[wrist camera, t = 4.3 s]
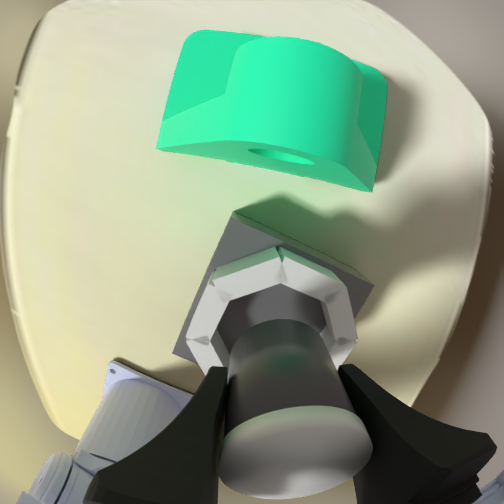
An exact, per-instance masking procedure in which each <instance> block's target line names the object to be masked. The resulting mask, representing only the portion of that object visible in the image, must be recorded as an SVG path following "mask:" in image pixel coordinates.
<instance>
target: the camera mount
mask: <svg viewBox="0 0 504 504" xmlns="http://www.w3.org/2000/svg"><path fill="white" fill-rule="evenodd" d="M387 89H388V86H387V82H386V80H385V78H384V76H383V75H382V74H381V73H380V72H379V71H378V70H376V69H374V68H372V67H370V66H367V65H364V64H362V63H359V62H356V61H354V60H351V59H349V58H348V57H347V56H345V55H344V54H342V53H340V52H338V51H337V50H335V49H332V48H330V47H328V46H325V45H323V44H320V43H317V42H313V41H310V40H305V39H300V38H293V37H262V36H256V35H250V34H242V33H235V32H226V31H215V30H200V31H197V32H194V33H192V34H191V35H189V36H188V37H187V38H186V40H185V42H184V44H183V47H182V50H181V53H180V57H179V60H178V63H177V66H176V70H175V73H174V77H173V80H172V84H171V87H170V91H169V95H168V99H167V103H166V107H165V111H164V115H163V119H162V124H161V128H160V133H159V138H158V142H157V147H156V149H159V150H162V151H165V152H173V153H181V154H189V155H196V156H202V157H209V158H215V159H222V160H226V161H228V162H233V163H239V164H244V165H250V166H255V167H260V168H265V169H270V170H275V171H279V172H284V173H289V174H293V175H297V176H302V177H310V178H314V179H318V180H322V181H326V182H330V183H334V184H338V185H341V186H345V187H349V188H352V189H356V190H359V191H365V192H372V191H373V186H374V181H375V175H376V170H377V164H378V159H379V153H380V146H381V140H382V133H383V126H384V118H385V109H386V100H387Z"/></svg>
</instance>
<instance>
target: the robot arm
mask: <svg viewBox="0 0 504 504" xmlns="http://www.w3.org/2000/svg"><path fill="white" fill-rule="evenodd" d="M112 369H113V370H112ZM114 370H115V371H114ZM338 374H339V376H340V378H341V381H342V383H343V385H344V388H345V390H346V392H347V394H348V397H349V399H350V401H351V404H352V406H353V408H354V411H355V413H356V415H357V416H358V417H359V418H360V419H361V420H362V422H363V424H364V426H365V428H366V430H367V432H368V435H369V437H370V439H371V442H372V445H373V452H372V455H371V457H370V459H369V461H368V462H367V464H366V465H365V466H364V467H363V468H362V469H361V470H360V471H359V472H358V473H357V474H356V475H354V476H353V480H354V486H355V492H356V497H357V504H504V470H503V471H502V472H501V473H500V474H499V475H498V476H497V478H495V479H494V480H493V481H491V482H490V483H488V484H487V485H485V486H484V487H483V488H481V489H480V490H479V488H478V487H477V485H476V483H477V482H478V481H479V478H478V476H477V473H478V472H479V471H480V470H481V469H482V468H483V467H484V466H485V465H486V464H487V462H488V461H489V460H490V459H491V458H492V456H493V455H494V454H495V452H496V449H497V446H496V445H495V443H494V442H493V440H492V439H491V438H490V436H489V435H488V434H487V433H482V432H476V431H470V430H465V429H461V428H457V427H454V426H451V425H448V424H445V423H442V422H440V421H437V420H434V419H432V418H430V417H428V416H426V415H423V414H422V413H420V412H418V411H416V410H414V409H412V408H411V407H409V406H407V405H406V404H404V403H403V402H401V401H400V400H398V399H397V398H395V397H394V396H392V395H391V394H390V393H388V392H387V391H386V390H384V389H383V388H382V387H381V386H379V385H378V384H377V383H376V382H374V381H373V380H372V379H371V378H369V377H368V376H367V375H366V374H365V373H363V372H362V371H361V370H360V369H359V368H357V367H356V366H355V365H353V364H346V365H339V368H338ZM227 388H228V367H220V366H211V367H210V368H209V370H208V372H207V374H206V376H205V378H204V380H203V381H202V383H201V385H200V386H199V388H198V389H197V391H196V392H195V394H194V395H192V394H190V393H187V392H185V391H182V390H179V389H177V388H174V387H172V386H169V385H167V384H165V383H162V382H160V381H157V380H155V379H153V378H151V377H148V376H146V375H144V374H142V373H140V372H137V371H135V370H133V369H131V368H129V367H127V366H125V365H123V364H121V363H119V362H117V361H115V360H111V361H110V362H109V364H108V369H107V374H106V380H105V385H104V391H103V397H102V401H101V403H100V405H99V406H98V408H97V410H96V412H95V414H94V415H93V417H92V419H91V421H90V423H89V425H88V427H87V428H86V430H85V432H84V434H83V436H82V438H81V440H80V442H79V444H78V445H77V447H76V449H75V451H74V453H73V455H69V454H68V453H66V452H61V453H53V454H52V455H51V456H50V457H49V458H48V460H47V461H46V463H45V464H44V466H43V467H42V469H41V470H40V472H39V474H38V475H37V477H36V479H35V481H34V483H33V485H32V487H31V489H30V491H29V493H26V492H25V491H23V492H22V493H21V495H20V497H19V499H18V501H17V503H16V504H218V480H219V474H218V463H219V451H220V445H221V443H222V441H223V439H224V427H225V413H226V400H227Z"/></svg>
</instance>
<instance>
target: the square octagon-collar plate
mask: <svg viewBox="0 0 504 504" xmlns="http://www.w3.org/2000/svg"><path fill="white" fill-rule="evenodd" d="M373 287H374V285H373V284H372V283H371V282H370V281H368V280H367V279H366V278H365V277H364V276H363V275H361V274H360V273H359V272H358V271H357V270H355V269H353V268H351V267H349V266H347V265H345V264H343V263H341V262H339V261H337V260H335V259H333V258H331V257H329V256H327V255H325V254H323V253H321V252H319V251H317V250H315V249H313V248H311V247H309V246H306V245H304V244H302V243H300V242H298V241H296V240H294V239H292V238H290V237H288V236H285V235H283V234H281V233H279V232H277V231H275V230H273V229H271V228H268V227H266V226H264V225H262V224H260V223H258V222H255V221H253V220H251V219H249V218H247V217H245V216H242V215H240V214H238V213H236V212H234V211H233V213H232V215H231V217H230V219H229V221H228V224H227V226H226V228H225V230H224V232H223V235H222V237H221V239H220V241H219V243H218V246H217V248H216V250H215V252H214V255H213V257H212V259H211V262H210V264H209V266H208V268H207V271H206V273H205V275H204V278H203V280H202V282H201V284H200V287H199V289H198V291H197V294H196V296H195V299H194V301H193V303H192V306H191V308H190V310H189V313H188V315H187V318H186V320H185V322H184V325H183V327H182V330H181V332H180V335H179V337H178V340H177V342H176V345H175V347H174V350H173V352H172V354H175V355H177V356H180V357H182V358H184V359H187V360H189V361H192V362H194V363H197V364H199V366H200V368H201V369H202V371H203V373H204V374H205V376H206V374H207V372H208V370H209V368H210V367H211V366H220V367H228V375H229V363H230V354H231V350H232V348H233V345H234V344H235V342H236V341H237V339H238V338H239V337H240V336H241V335H242V334H243V333H244V332H245V331H246V330H248V329H249V328H251V327H253V326H255V325H257V324H259V323H262V322H265V321H269V320H274V319H292V320H297V321H300V322H303V323H305V324H307V325H309V326H311V327H312V328H314V329H315V330H316V331H317V332H318V333H319V334H320V336H321V337H322V339H323V341H324V343H325V345H326V347H327V349H328V352H329V354H330V356H331V358H332V361H333V363H334V365H335V367H336V369H337V370H338V368H339V365H342V363H343V362H344V360H345V359H346V358H347V356H348V355H349V353H350V352H351V351H352V349H353V348H354V346H355V345H356V343H357V342H356V341H355V340H356V339H358V337H357V332H356V327H355V322H354V319H355V317H356V315H357V314H358V312H359V311H360V309H361V307H362V306H363V304H364V302H365V301H366V299H367V297H368V295H369V294H370V292H371V290H372V288H373Z"/></svg>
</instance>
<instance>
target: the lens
mask: <svg viewBox="0 0 504 504" xmlns="http://www.w3.org/2000/svg"><path fill="white" fill-rule="evenodd" d="M372 452H373V445H372V442H371V439H370V437H369V435H368V432H367V430H366V428H365V426H364V424H363V422H362V420H361V419H360V418H359V417H358V416H357V415H356V413H355V411H354V408H353V406H352V404H351V401H350V399H349V397H348V394H347V392H346V390H345V388H344V385H343V383H342V381H341V378H340V376H339V374H338V372H337V369H336V367H335V365H334V363H333V361H332V358H331V356H330V354H329V352H328V349H327V347H326V345H325V343H324V341H323V339H322V337H321V336H320V334H319V333H318V332H317V331H316V330H315V329H314V328H312V327H311V326H309V325H307V324H305V323H303V322H300V321H297V320H292V319H274V320H269V321H265V322H262V323H259V324H257V325H255V326H253V327H251V328H249V329H248V330H246V331H245V332H244V333H243V334H242V335H241V336H240V337H239V338H238V339H237V341H236V342H235V344H234V345H233V348H232V350H231V354H230V363H229V375H228V388H227V400H226V413H225V427H224V439H223V441H222V443H221V445H220V451H219V463H218V474H219V477H220V479H221V480H222V482H223V483H224V484H225V485H226V486H228V487H229V488H231V489H233V490H234V491H237V492H239V493H242V494H245V495H248V496H252V497H257V498H265V499H266V498H267V499H289V498H298V497H304V496H308V495H312V494H316V493H320V492H323V491H326V490H328V489H331V488H333V487H335V486H337V485H339V484H341V483H343V482H345V481H347V480H348V479H350V478H351V477H353V476H354V475H356V474H357V473H358V472H359V471H360V470H361V469H362V468H363V467H364V466H365V465H366V464H367V462H368V461H369V459H370V457H371V455H372Z"/></svg>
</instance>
